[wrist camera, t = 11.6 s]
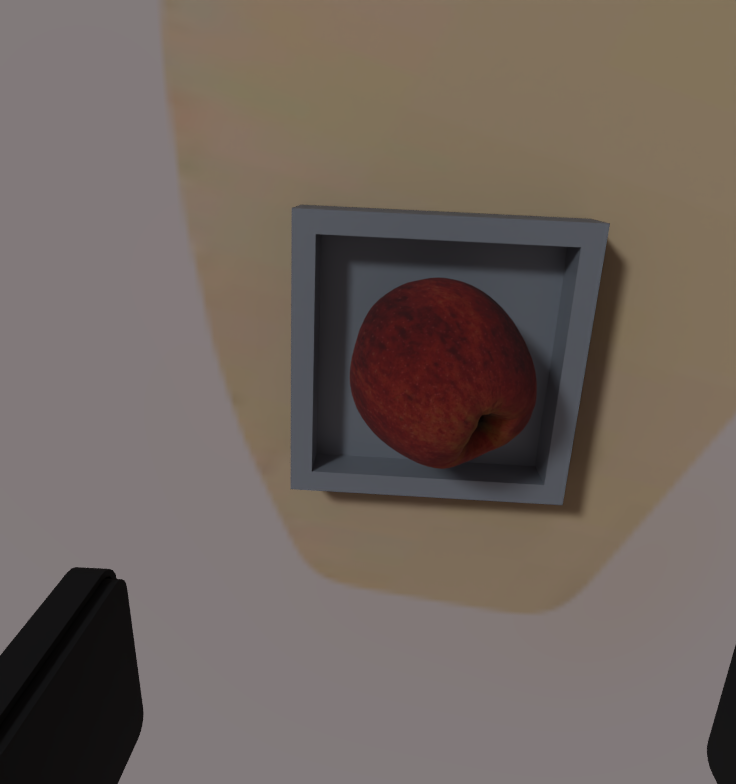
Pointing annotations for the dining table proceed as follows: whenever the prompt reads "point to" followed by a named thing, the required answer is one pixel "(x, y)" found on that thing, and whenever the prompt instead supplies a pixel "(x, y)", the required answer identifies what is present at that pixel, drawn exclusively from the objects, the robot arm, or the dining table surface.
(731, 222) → the dining table surface
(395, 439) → the apple
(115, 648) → the robot arm
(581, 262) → the tray
